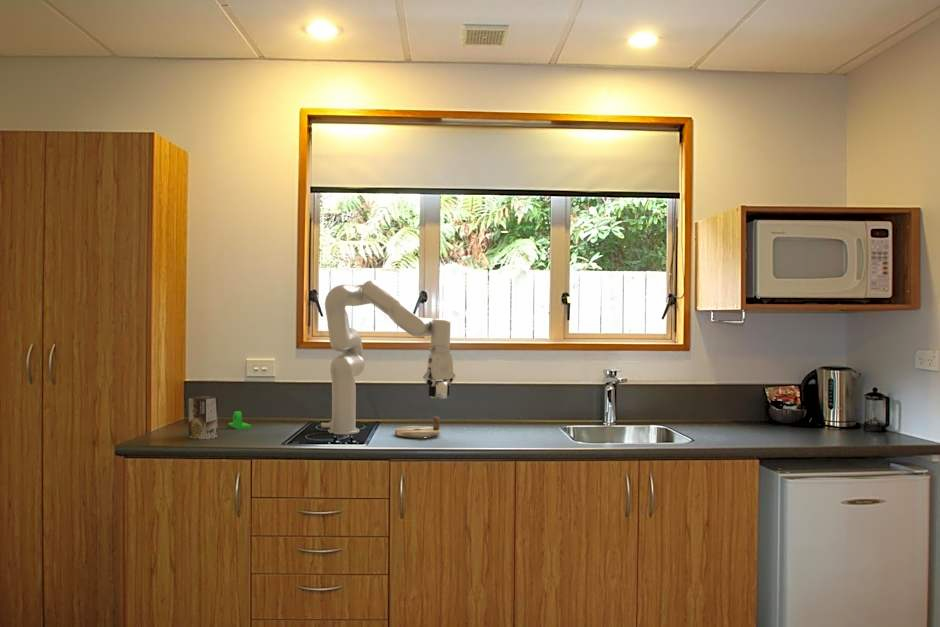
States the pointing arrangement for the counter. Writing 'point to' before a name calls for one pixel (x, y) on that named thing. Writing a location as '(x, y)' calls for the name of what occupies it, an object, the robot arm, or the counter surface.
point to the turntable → (420, 430)
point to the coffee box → (203, 417)
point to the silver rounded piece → (440, 389)
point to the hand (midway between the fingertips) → (438, 395)
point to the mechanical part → (238, 421)
